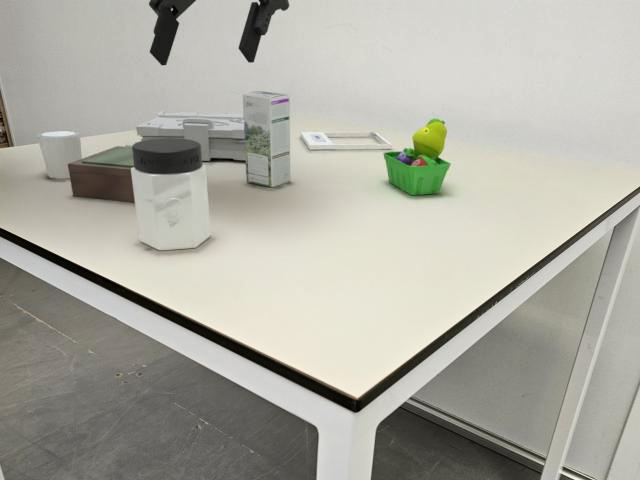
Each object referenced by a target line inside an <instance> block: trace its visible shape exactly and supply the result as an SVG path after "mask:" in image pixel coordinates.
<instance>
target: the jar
mask: <svg viewBox="0 0 640 480" xmlns="http://www.w3.org/2000/svg"><path fill="white" fill-rule="evenodd" d="M136 142H137V143H135V142H134V143H132V144H133V146H132V153H133V161H134V167H133V168H131V175H132V183H133V191H134V199H135V202H134V206H135V213H136V222H137V231H138V239H139V241H140V242H141V243H142V244H145V245H147V246H149V247H151V248H153V249H155V250H157V251H160V252H161V251H172V250H186V249H196V248H198V247H199V246H200V245H201V244H202V243H204V242H205V241H206V240H208V239H209V238H210V237H211V236H212V235H211V221H210V207H209V204H210V203H209V191H208V176H207V165H206V164H203V161H202V153H201V145H200V143H198V142H196V141H193V140H188V139H176V138H163V139H151V140H144V141H141V140H139V141H136Z"/></svg>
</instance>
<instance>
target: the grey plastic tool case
mask: <svg viewBox="0 0 640 480" xmlns="http://www.w3.org/2000/svg"><path fill="white" fill-rule="evenodd" d="M135 128H136V134H137V135H136V136H139V137H141V138H140V140H139V141H144V140H151V139H163V138H176V139H188V140H193V141H196V142H198V143H200V145H201V153H202V162H203V161H204V162H205V161H206V162H210V161H211V159H233V161H246V158H245V135H244V113H227V112H225V114H207V113H206V114H205V113H199V112H192V111H190V112H189V111H177V112H175V113H173V112H172V113H169V112H166V111H165V110H160V111H159V112H158V113H157V116H156V117H154V118H152V119H151V120H148V121H147V122H142V123H140V124H138V125H136V127H135ZM137 142H138V141H136V142H134V143H130V142H128V143H126V144H125V145H124V147H132V146H133V144H135V143H137Z"/></svg>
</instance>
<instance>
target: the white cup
mask: <svg viewBox="0 0 640 480" xmlns="http://www.w3.org/2000/svg"><path fill="white" fill-rule="evenodd" d="M36 138H37V141H38V144H39V148H40V151H41V154H42V159H43V161H44V165H45V169H46V173H47V176H48V177H49V178H51V179H57V180H60V179H61V180H63V179H70V175H69V169H68V164H69V163H71V162H74V161H77V160H80V159H83V158H82V143H81V133H80V132H79V131H76V130H66V129H63V130H61V129H60V130H57V129H56V130H47V131H42V132H38V133H37V134H36Z"/></svg>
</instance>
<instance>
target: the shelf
mask: <svg viewBox="0 0 640 480" xmlns="http://www.w3.org/2000/svg"><path fill="white" fill-rule="evenodd" d="M133 167H134V161H133V153H132V147H125V146H122V145H116V146H114V147H111V148H108V149H105V150H102V151H100V152H97V153H94V154H91V155H88V156H85V157H83V158H82V159H80V160H77V161H74V162H71V163H69V164H68V169H69V175H70V178H69V181H70V187H71V192H72V196H73V197H81V198H89V199H99V200H109V201H118V202H129V203H135V199H134V191H133V183H132V175H131V168H133Z"/></svg>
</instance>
